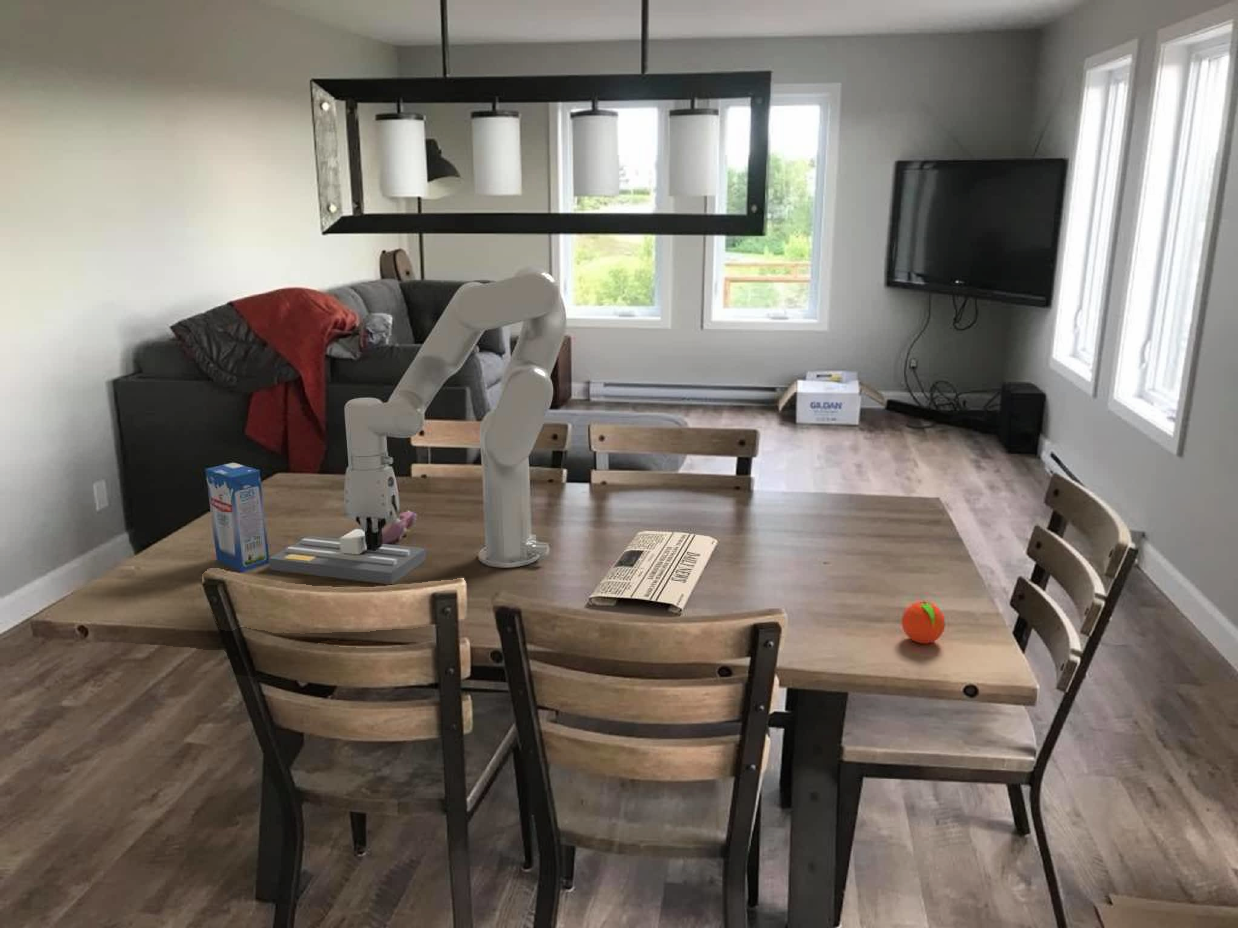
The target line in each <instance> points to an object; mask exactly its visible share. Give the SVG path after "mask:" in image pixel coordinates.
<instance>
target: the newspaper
mask: <svg viewBox="0 0 1238 928" xmlns="http://www.w3.org/2000/svg"><path fill="white" fill-rule="evenodd" d="M717 546H718V540H717V539H715V538H713V537H711V536H709V535H702V534H695V533H688V532H687V533H686V532H676V531H675V532H674V531H656V530H655V531H654V530H653V531H651V530H645V531H640V532H637V534H636V535H635V536H634V538H633V539H632V540H631V542H630V543H629V544H628V546H627V547H626V548H625V549H624V550H623V552H622V553H621V555H619V558H618V559H617V560H616V562H615V563H614V564H613V565H612V566H611V568H610V569H609V571H608V572H607V573H606V575H605V576H604V577H603V578H602V580H601V581H600V583H598V585H597V587H596V588H595V589H594V590H593V592H592V593H591V594H590V595H589V597H588V602H587V603H589V604H590V605H591V606H593V605H596V606H615V605H616V604H617V602H618V601H619V599H620V598H622V599H633V600H634V599H636V600H645V601H652V602H659V603H663V604H665V603H666V604H670V606H669V608H668V610H667V611H668V612H671V613H674V614H677V615H679V614H682V613H683V612H684V610H685V607H686V606H687V604H688V603H689V600H690V598H691V596H692V595H693V592H694V590H695V588H696V586H697V584H698V583H699V581H700V578H701V577H702V574H703V573H704V571H705V568H706V567H707V565H708V563H709V561H710V559H711V557H712V555H713V553H714V551H715V549H716V548H717Z"/></svg>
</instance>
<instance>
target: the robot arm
mask: <svg viewBox="0 0 1238 928" xmlns="http://www.w3.org/2000/svg"><path fill="white" fill-rule="evenodd" d="M564 302H565V301H564V300H563V297H562V294H561V293H560V289H559V286H558V283H557V281H556V279H555V278H554V277H553V276H552V275H551V274H550V273H548V272H547V271H545V270H544V269H542V268H540V267H537V266H527V267H522V268H521V269H520V270H518V271H517V272H516V273H515V274H514V276H511V277H508V278H504V279H500V280H496V281H492V282H487V283H481V282H478V281H477V282H476V281H469V282H466V283H464V284H463V285H461V286H460V287H459V288H458V289H457V290H456V292H455V293H454V294H453V296H452V298H451V299H450V301H449V302H448V305H447V306H446V307H445V309H444V310H443V312H442V314H441V316H440V317H439V319H438V320H437V321H436V323H435V325H434V327H433V328H432V330H431V331H430V333H429V334H428V336H427V338H426V339H425V341H424V342H423V344H422V346H421V347H420V349H419V351H418V352H417V354H416V356H415V357H414V359H413V360H412V362H411V364H409V367H408V368H407V370H406V371H405V373H404V374H403V376H402V377H401V379H400V381H399V382H398V383H397V386H396V387H395V389H394V390H393V392H392V394H391V395H390V396H389V399H388V401H387V402H383V401H382V400H381V399H379V398H375V397H357V398H353V399H350V400H348V401H347V402H346V403H345V405H344V419H345V420H344V423H345V434H346V447H347V448H346V449H347V458H348V460H347V461H348V466H347V467H346V470H345V476H344V506H345V511H346V513H347V519H349V520H351V521H354V522H356V523H357V524H358V525H359V526H360V527H361V528H360V529H362V530H363V531H365V543H366V545H367V550H369V551H370V550H372V551H376V550H377V549H379V548H380V547H382V544H383V540H382V533H383V529H384V528H385V527H386V525H392V524H393V523H395V522H397V520H398V519H397V517H398V515H397V513H399V511H400V496H399V490H398V485H397V480H396V476H395V472H394V469H393V466H391V464H393V462H394V458H393V457H391V456H389V452H388V445H387V443H388V441H387V438H389V437H391V438H398V439H407V438H408V439H409V438H412V437H415V436H416V435H417V434H419V433H420V432H421V431H422V430H423V427H424V424H425V413H426V411H427V409H428V407H429V406H430V404H431V403H432V401H433V399H434V398H435V396H436V394H437V393H438V392H439V390H440V389H441V387H443V385H444V384H445V382H447V380H448V379H449V378H450V377H452V376H453V375H455V374H456V373H458V371H459V370H460V369H461V368H462V367H463V365H464V364H465V363H466V361H467V359H468V358H469V356H470V355H471V353H472V351H473V350H474V348H475V347H476V345H477V343H478V341H479V340H480V338H481V337H482V336H483V334H484V333H485V331H489V330H494V329H498V328H502V327H506V326H510V325H514V324H516V323H517V324H518V323H522V325H521V329H520V333H519V336H518V339H517V340H516V341H517V342H516V344H515V345H514V346H515V347H514V349H513V352H512V354H511V355H510V358H509V361H508V363H507V366H506V367H505V370H504V371H503V373H502V376H501V380H500V381H501V382H500V388H501V394H500V395H501V396H500V397H499V401H498V402H497V405H496V407H495V408H493V409H491V410H489V412H487V413H486V414H485V415H484V417H483V419H482V420H481V423H480V425H479V446H480V447H479V448H480V457H481V458H480V459H481V460H480V461H481V472H482V474H481V475H482V497H483V518H484V537H485V546H484V547H483V548H482V549H481V550H479V552H478V560H479V562H480V563H482V564H484V565H486V566H489V567H493V568H502V569H505V568H509V569H510V568H518V567H524V566H526V565H530V564H532V563H535V562H536V561H537V560H538V559H539V558H540V556H549V555H550V551H551V550H550V546H549V543H548V542H543V541H542V542H540V541H538V540H537V535H536V534H533V533H532V518H531V517H532V515H531V513H532V512H531V489H530V487H531V483H530V479H531V478H530V462H529V459H530V458H529V456H530V454H531V452H532V451H533V448H534V446H535V444H536V442H537V439H538V437H539V435H540V432H541V429H542V428H543V426H544V422H545V420H546V418H547V414H548V413H549V411H550V408H551V406H552V401H553V396H554V386H553V382H552V378H551V374H552V373H553V369H554V367H555V364H556V362H557V360H558V356H559V352H560V350H561V348H562V345H563V342H564V338H565V334H566V331H567V330H566V329H567V313H566V311H567V310H566V307H565V303H564Z"/></svg>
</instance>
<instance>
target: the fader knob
mask: <svg viewBox="0 0 1238 928" xmlns="http://www.w3.org/2000/svg"><path fill="white" fill-rule="evenodd" d="M338 539H340V550H341V553H350V554H360V553H362V552H363V551H364V550H366V549H367V545H366V543H365V531H363V530H362V528H360V529H359V528H355V529H352V531H349V532H348V533H346V534H345V535H343V536H341V537H339V538H338Z"/></svg>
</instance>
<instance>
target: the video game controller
mask: <svg viewBox="0 0 1238 928" xmlns="http://www.w3.org/2000/svg"><path fill="white" fill-rule="evenodd" d="M397 519H398V520H397V522H395V523H393V524H390V526H389V527H388V528H387V529H386V530H385V531H384V532H382V540H383V543H382V544H389V543H392V542H394V541H395V540H397V541H401V540H402V539H403V537H406V536H407V535H408V534H409V533H410V530H411V529H412V527H413V526H414V525H415V523H416V521H417V519H418V514H417V513H416V512H413V511H410V510H409V509H408V510H407V511H404V512H400V513H399V514H398V515H397Z"/></svg>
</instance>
